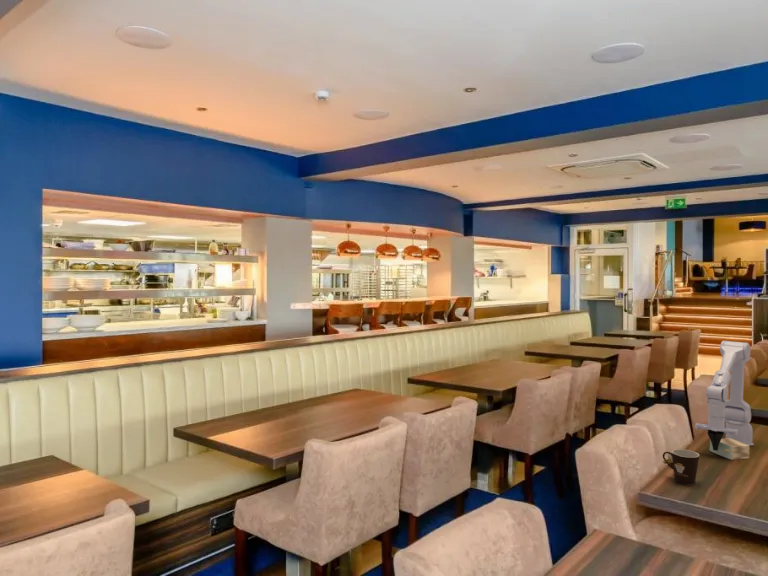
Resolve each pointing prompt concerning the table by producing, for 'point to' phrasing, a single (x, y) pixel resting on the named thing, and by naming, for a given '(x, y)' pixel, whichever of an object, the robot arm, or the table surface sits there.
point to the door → (722, 450)
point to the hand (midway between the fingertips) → (715, 449)
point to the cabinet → (737, 448)
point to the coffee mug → (684, 465)
